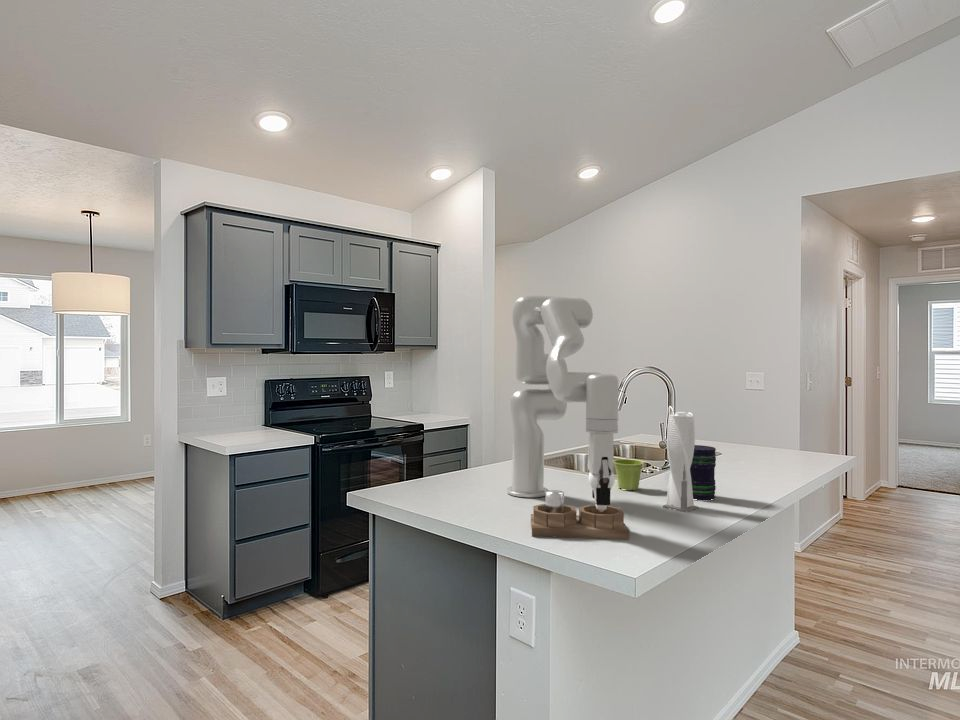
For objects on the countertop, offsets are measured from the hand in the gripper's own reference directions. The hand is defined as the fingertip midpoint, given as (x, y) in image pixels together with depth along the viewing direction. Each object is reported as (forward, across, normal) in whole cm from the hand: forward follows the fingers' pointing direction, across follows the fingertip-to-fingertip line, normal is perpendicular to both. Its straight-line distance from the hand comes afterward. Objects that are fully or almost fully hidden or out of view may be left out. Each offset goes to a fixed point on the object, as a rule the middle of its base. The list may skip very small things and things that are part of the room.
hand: (601, 500), depth 141 cm
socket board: (+7, 0, -6) cm, 9 cm away
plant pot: (+7, -48, +16) cm, 51 cm away
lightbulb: (+3, 0, 0) cm, 3 cm away
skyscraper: (+7, -26, +26) cm, 37 cm away
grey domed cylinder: (+5, 0, -11) cm, 12 cm away
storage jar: (+7, -39, +34) cm, 53 cm away
